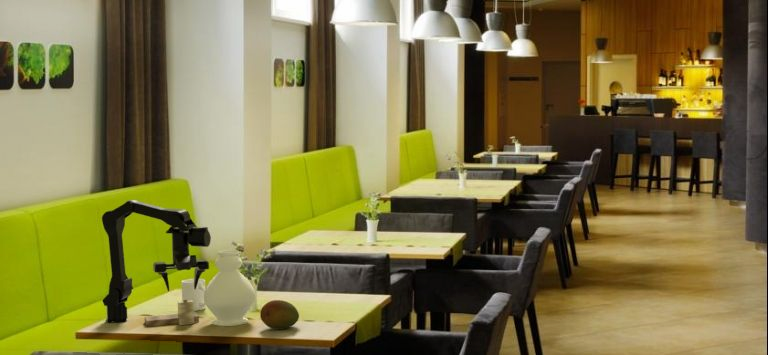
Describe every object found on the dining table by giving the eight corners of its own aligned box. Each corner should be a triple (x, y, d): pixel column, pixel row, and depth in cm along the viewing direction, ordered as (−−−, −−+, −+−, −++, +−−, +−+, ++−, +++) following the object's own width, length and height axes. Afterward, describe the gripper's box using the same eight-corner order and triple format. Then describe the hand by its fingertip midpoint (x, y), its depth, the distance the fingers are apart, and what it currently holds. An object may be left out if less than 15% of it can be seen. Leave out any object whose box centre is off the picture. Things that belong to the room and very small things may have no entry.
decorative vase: (235, 329, 379) (233, 256, 376) (193, 324, 387) (191, 253, 385) (265, 319, 394) (264, 249, 392) (225, 315, 403) (223, 246, 401)
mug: (198, 313, 407) (197, 284, 406) (177, 309, 415) (176, 281, 414) (216, 309, 413) (215, 281, 412) (196, 305, 421) (195, 277, 420)
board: (147, 326, 387) (146, 320, 387) (144, 322, 393) (144, 316, 393) (198, 321, 393) (198, 316, 392) (195, 317, 399) (195, 312, 399)
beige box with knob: (179, 325, 387) (178, 301, 386) (175, 319, 396) (174, 296, 396) (194, 323, 389) (193, 299, 388) (189, 318, 398) (188, 295, 397)
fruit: (255, 329, 378) (254, 300, 377) (281, 323, 388) (280, 294, 387) (279, 334, 371) (278, 304, 370) (305, 327, 380) (304, 298, 379)
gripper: (156, 251, 378) (157, 296, 380) (211, 247, 384) (212, 292, 386) (152, 246, 389) (153, 290, 390) (205, 243, 395) (206, 286, 396)
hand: (181, 290), depth 390 cm, fingers open, 9 cm apart
